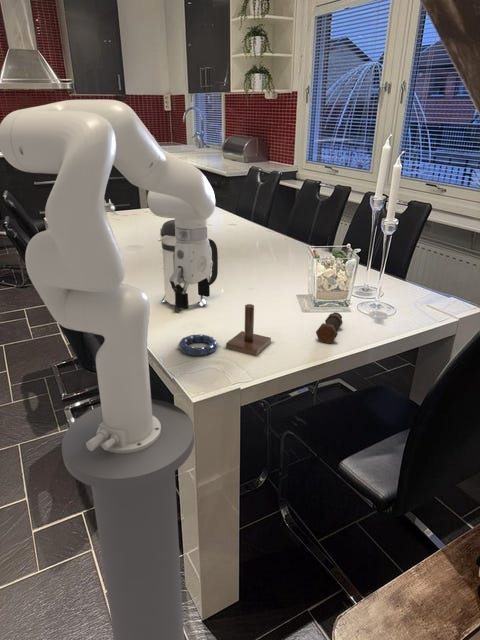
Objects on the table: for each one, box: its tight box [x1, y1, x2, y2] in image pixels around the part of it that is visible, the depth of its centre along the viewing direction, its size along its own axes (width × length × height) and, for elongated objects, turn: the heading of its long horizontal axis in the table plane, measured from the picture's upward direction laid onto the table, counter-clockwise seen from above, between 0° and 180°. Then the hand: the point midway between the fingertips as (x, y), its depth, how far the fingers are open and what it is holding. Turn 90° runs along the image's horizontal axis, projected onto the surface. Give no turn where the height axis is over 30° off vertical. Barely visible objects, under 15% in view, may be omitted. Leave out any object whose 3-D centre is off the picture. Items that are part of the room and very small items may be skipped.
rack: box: [225, 303, 272, 357], centre depth 123 cm, size 9×9×12 cm
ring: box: [177, 333, 219, 357], centre depth 123 cm, size 10×10×2 cm
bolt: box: [315, 311, 344, 344], centre depth 133 cm, size 6×5×15 cm
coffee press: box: [157, 219, 219, 313], centre depth 148 cm, size 17×16×30 cm
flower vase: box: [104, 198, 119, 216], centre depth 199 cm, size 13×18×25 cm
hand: (193, 301), depth 116 cm, fingers open, 9 cm apart
